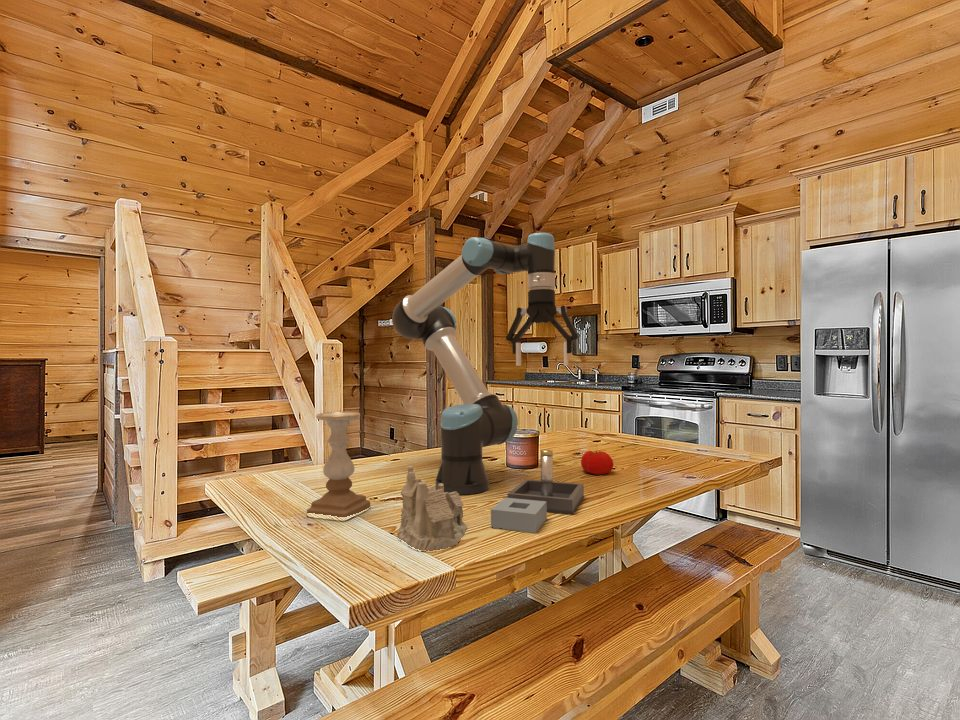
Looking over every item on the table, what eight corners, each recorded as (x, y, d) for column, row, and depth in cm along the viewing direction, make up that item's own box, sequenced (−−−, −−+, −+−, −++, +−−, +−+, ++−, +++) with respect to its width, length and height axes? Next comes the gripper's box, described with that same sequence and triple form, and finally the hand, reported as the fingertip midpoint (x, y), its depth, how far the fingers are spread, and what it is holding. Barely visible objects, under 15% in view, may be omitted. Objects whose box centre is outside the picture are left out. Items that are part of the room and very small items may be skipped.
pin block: (490, 527, 110) (490, 509, 110) (505, 514, 120) (505, 497, 120) (535, 533, 107) (535, 514, 107) (546, 518, 116) (546, 501, 116)
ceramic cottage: (414, 555, 95) (418, 474, 96) (387, 532, 109) (390, 462, 110) (487, 546, 102) (490, 470, 103) (453, 525, 117) (455, 459, 118)
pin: (539, 500, 128) (539, 450, 128) (542, 497, 131) (542, 449, 131) (551, 501, 127) (551, 451, 127) (553, 498, 130) (553, 449, 130)
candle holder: (371, 508, 125) (370, 412, 125) (345, 522, 115) (344, 417, 115) (333, 504, 129) (332, 410, 129) (305, 517, 119) (304, 415, 118)
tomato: (606, 468, 169) (606, 449, 169) (616, 476, 158) (616, 455, 158) (577, 469, 168) (577, 449, 168) (585, 477, 157) (585, 455, 157)
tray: (507, 508, 125) (507, 493, 125) (525, 491, 140) (525, 479, 140) (572, 514, 119) (572, 499, 119) (583, 497, 134) (583, 483, 134)
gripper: (494, 290, 143) (495, 365, 143) (584, 285, 134) (584, 365, 134) (503, 293, 150) (503, 365, 150) (588, 288, 141) (589, 365, 141)
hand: (542, 365), depth 142 cm, fingers open, 13 cm apart
